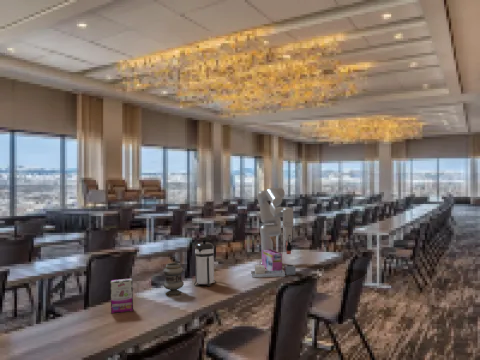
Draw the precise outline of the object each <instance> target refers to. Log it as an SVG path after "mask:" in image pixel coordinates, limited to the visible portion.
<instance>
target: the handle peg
mask: <svg viewBox="0 0 480 360" xmlns="http://www.w3.org/2000/svg"><path fill="white" fill-rule="evenodd" d="M288 241H289V240H288ZM285 250H286V251H285V253H286V255H291V254H292V250H291V251H287V240H286V241H285Z"/></svg>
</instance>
